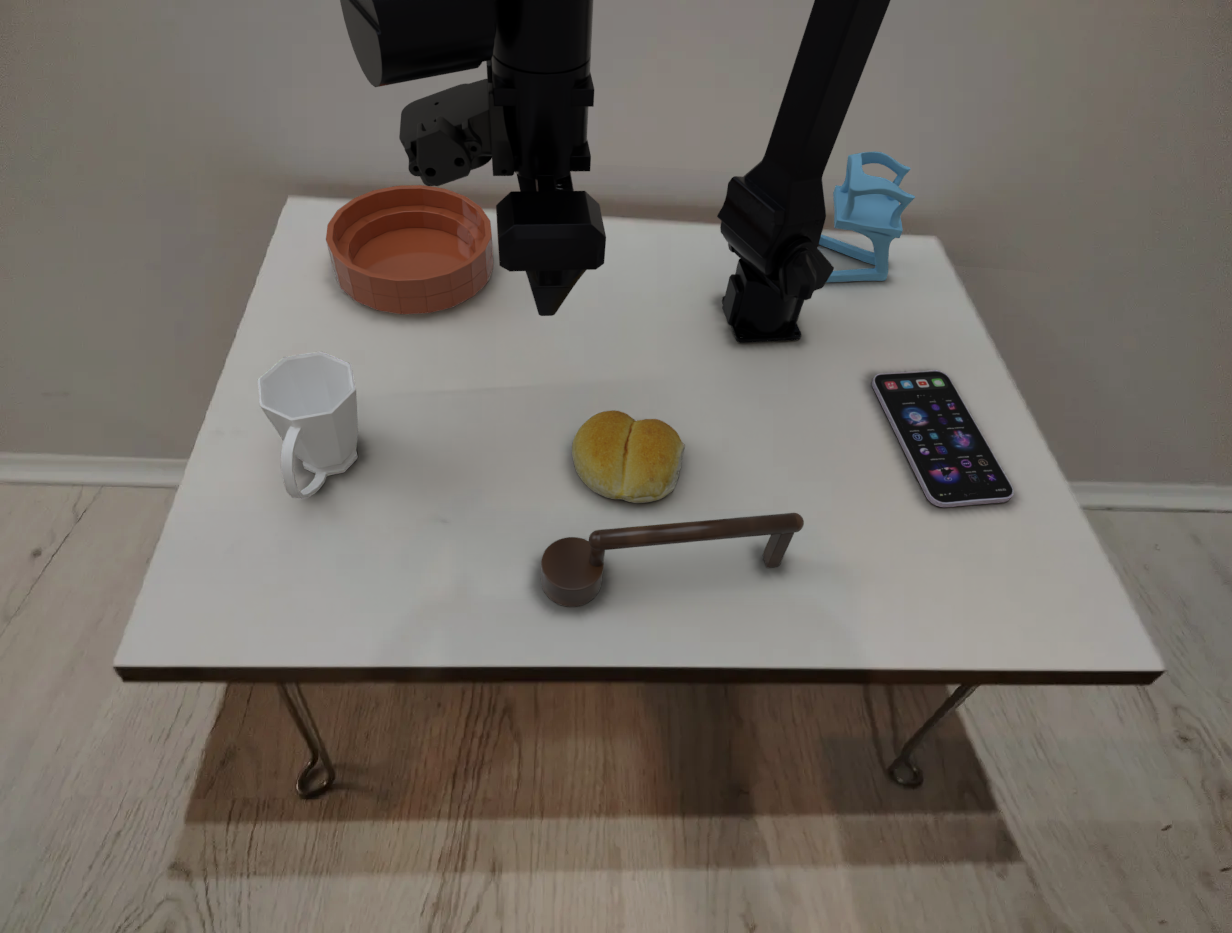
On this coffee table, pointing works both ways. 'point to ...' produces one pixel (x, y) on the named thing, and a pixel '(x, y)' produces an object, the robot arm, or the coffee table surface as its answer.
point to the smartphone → (941, 439)
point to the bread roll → (627, 457)
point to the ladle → (580, 563)
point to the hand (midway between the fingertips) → (541, 272)
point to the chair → (868, 215)
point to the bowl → (410, 249)
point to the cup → (312, 415)
